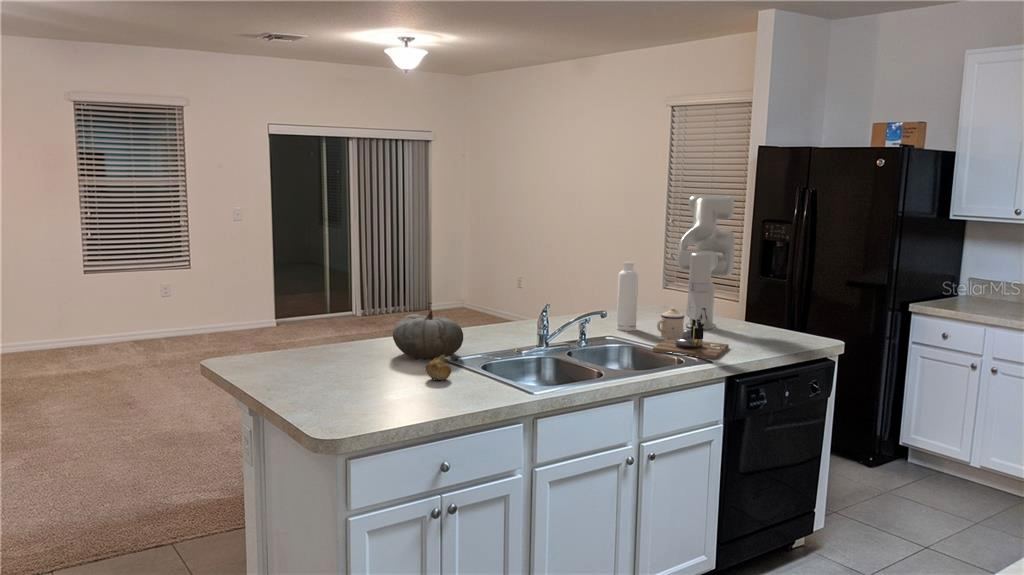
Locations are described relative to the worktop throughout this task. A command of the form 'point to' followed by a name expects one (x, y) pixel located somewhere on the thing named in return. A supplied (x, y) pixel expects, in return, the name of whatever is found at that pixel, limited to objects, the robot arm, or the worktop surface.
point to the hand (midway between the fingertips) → (696, 337)
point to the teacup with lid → (671, 324)
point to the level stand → (692, 349)
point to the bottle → (627, 297)
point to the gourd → (427, 336)
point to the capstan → (688, 340)
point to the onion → (439, 368)
